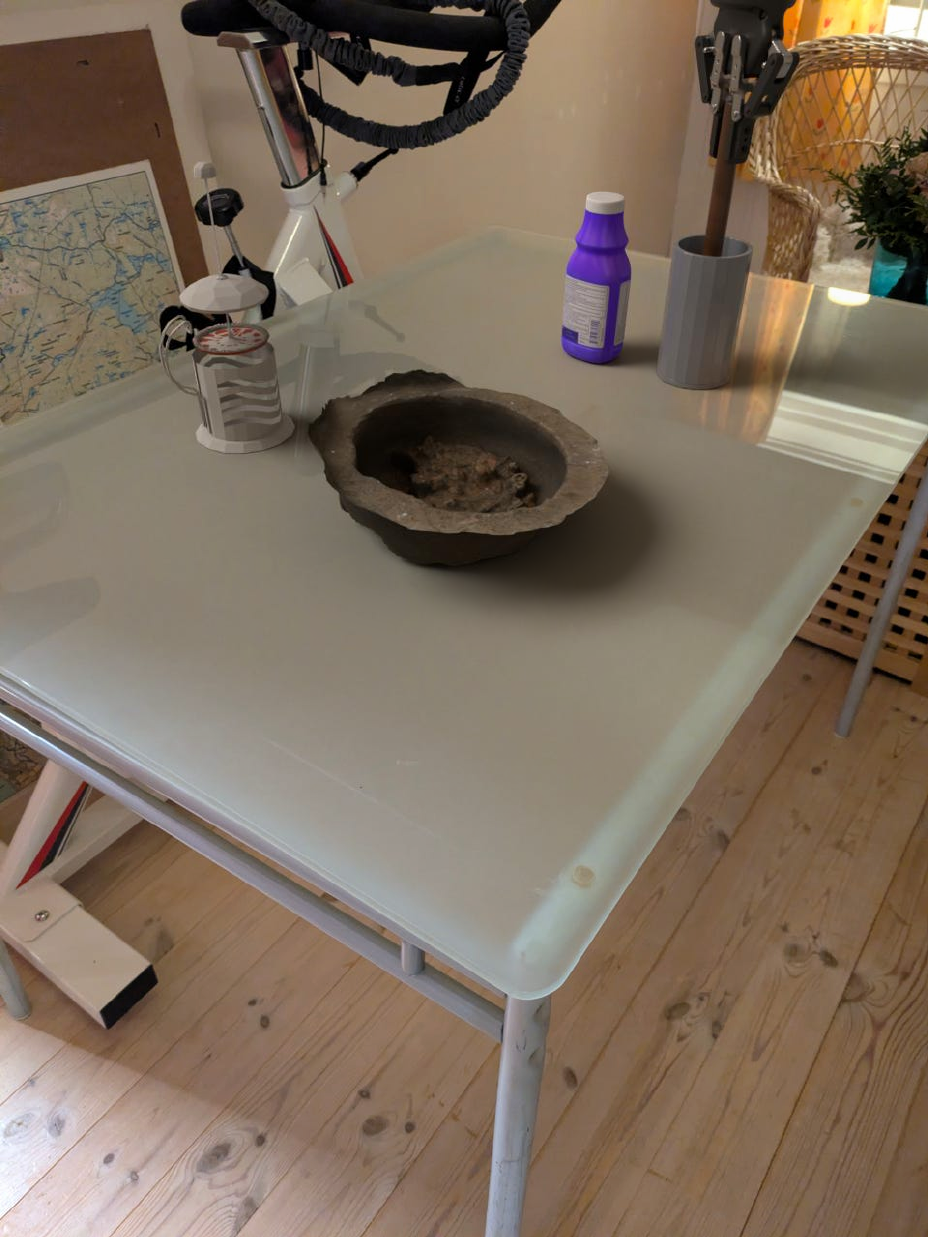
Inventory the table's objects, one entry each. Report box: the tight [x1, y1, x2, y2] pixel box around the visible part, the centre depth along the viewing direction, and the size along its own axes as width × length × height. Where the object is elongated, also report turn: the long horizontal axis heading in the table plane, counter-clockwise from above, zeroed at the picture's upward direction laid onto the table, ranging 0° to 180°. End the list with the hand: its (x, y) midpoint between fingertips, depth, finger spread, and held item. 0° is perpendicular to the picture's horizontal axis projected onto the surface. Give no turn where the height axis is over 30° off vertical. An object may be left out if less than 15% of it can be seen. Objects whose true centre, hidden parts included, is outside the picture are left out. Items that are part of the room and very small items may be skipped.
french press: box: [158, 160, 296, 454], centre depth 88 cm, size 10×12×25 cm
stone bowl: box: [306, 368, 609, 567], centre depth 80 cm, size 25×25×9 cm
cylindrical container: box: [656, 233, 754, 390], centre depth 102 cm, size 8×8×14 cm
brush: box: [702, 100, 747, 257], centre depth 96 cm, size 4×4×22 cm
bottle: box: [560, 191, 632, 364], centre depth 105 cm, size 7×6×17 cm
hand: (727, 159), depth 92 cm, fingers closed on brush, 2 cm apart
